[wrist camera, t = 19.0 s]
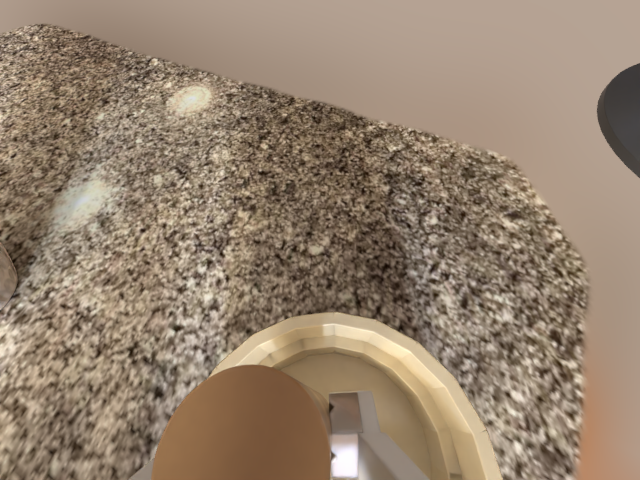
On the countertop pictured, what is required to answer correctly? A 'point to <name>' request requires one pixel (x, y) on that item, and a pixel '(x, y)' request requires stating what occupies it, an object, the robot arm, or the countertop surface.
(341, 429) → the robot arm
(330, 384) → the bowl
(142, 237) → the countertop surface
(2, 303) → the vase
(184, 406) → the stick
